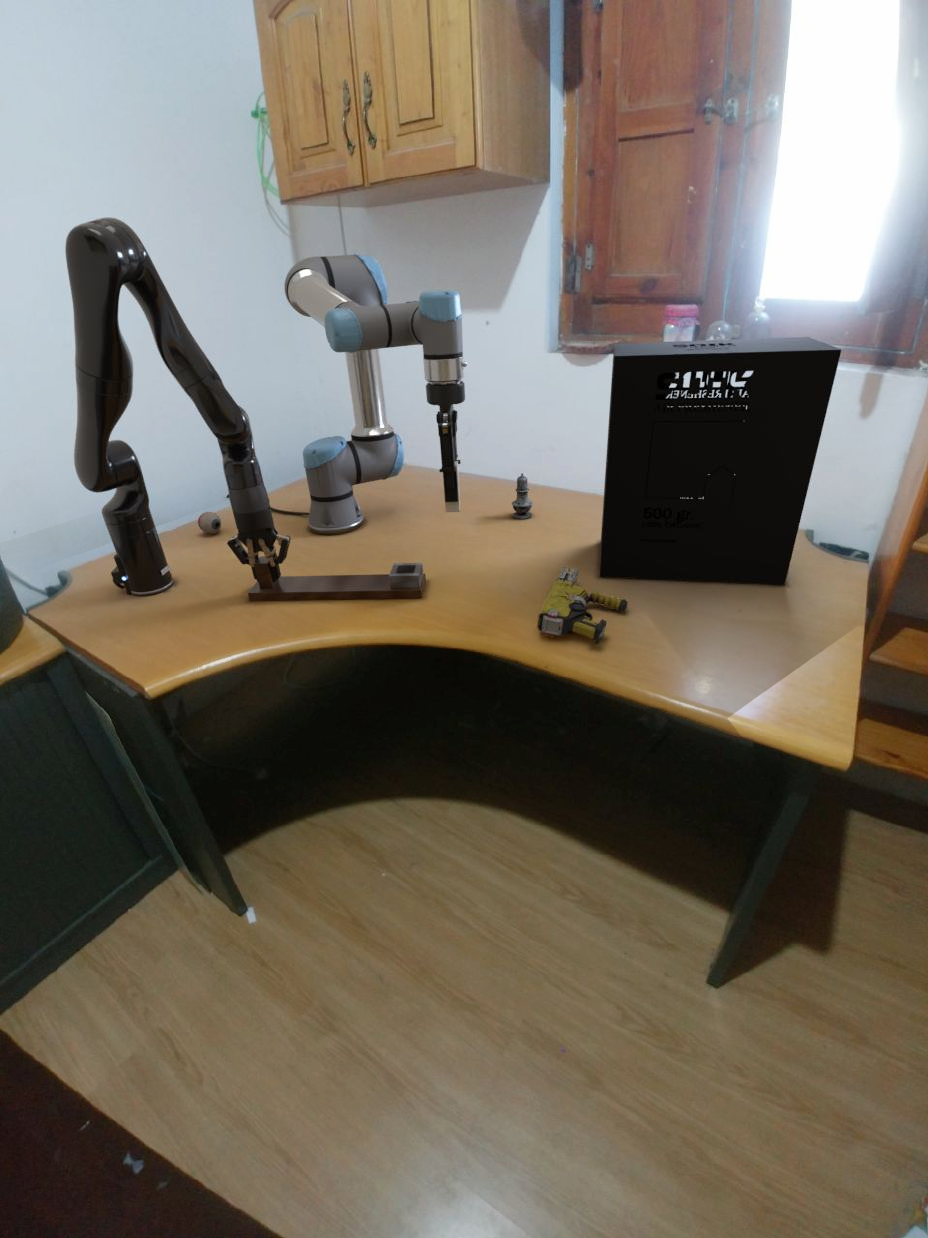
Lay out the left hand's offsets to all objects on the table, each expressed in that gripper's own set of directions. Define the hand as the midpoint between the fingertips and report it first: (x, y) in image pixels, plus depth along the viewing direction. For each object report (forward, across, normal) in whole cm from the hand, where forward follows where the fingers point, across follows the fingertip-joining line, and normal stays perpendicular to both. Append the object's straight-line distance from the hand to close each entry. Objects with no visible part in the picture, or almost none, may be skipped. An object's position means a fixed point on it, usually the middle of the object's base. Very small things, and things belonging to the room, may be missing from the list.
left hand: (268, 579), depth 133 cm
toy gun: (+3, +68, -12) cm, 69 cm away
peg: (-13, +41, +6) cm, 44 cm away
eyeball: (+3, -30, +36) cm, 47 cm away
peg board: (+3, +16, 0) cm, 16 cm away
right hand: (-15, +41, +6) cm, 45 cm away
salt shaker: (+3, +57, +44) cm, 72 cm away
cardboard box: (+3, +93, +12) cm, 94 cm away
